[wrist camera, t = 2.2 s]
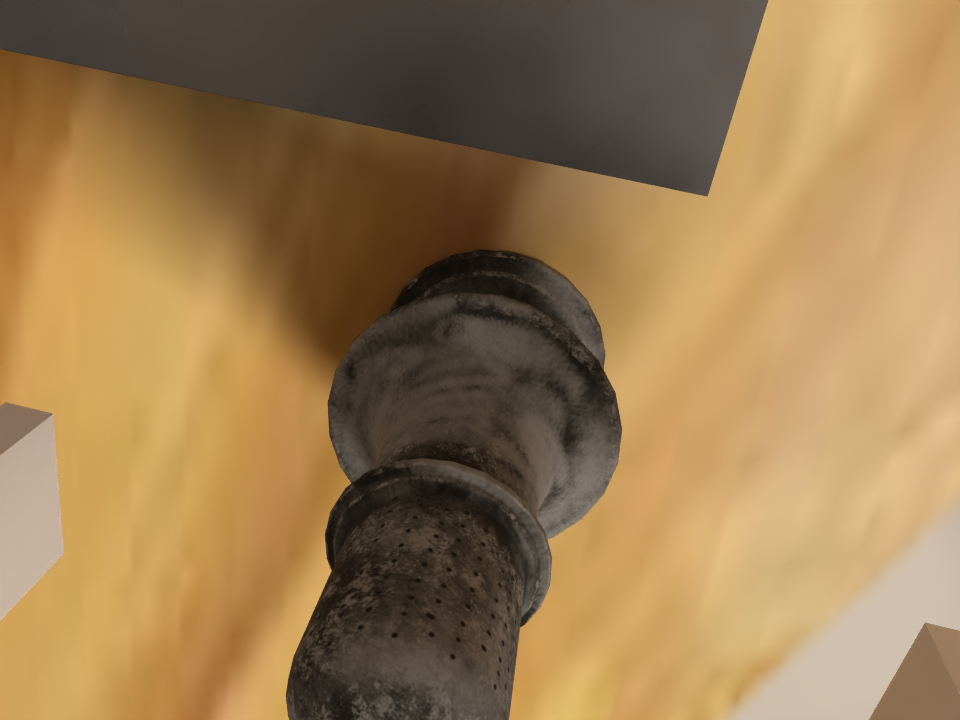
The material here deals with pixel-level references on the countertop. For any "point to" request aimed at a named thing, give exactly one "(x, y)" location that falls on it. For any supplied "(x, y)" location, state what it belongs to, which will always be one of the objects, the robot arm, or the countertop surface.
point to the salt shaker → (453, 489)
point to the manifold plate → (444, 68)
